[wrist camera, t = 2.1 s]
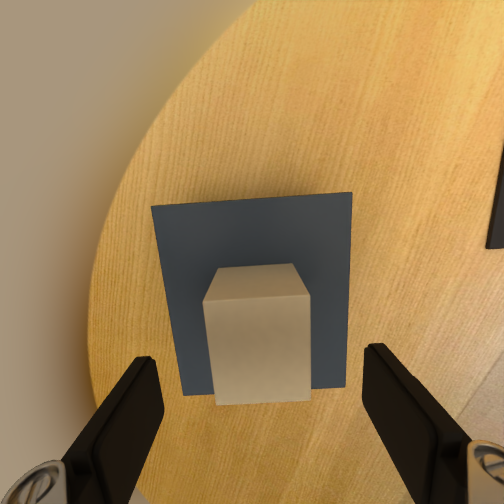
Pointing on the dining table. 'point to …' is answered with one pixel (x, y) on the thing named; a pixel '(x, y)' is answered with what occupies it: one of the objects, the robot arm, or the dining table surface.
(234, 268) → the small box
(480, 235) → the dining table surface
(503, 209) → the mat
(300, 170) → the dining table surface
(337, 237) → the storage box
